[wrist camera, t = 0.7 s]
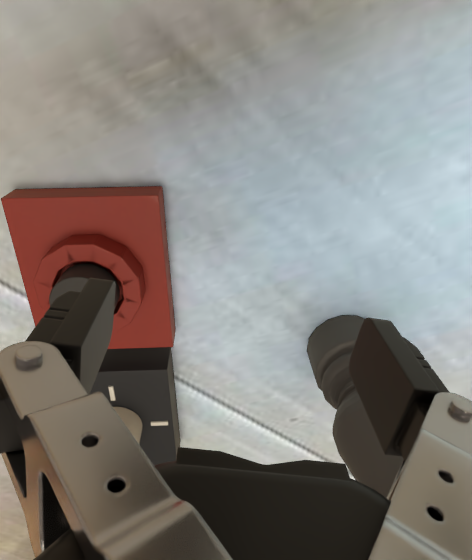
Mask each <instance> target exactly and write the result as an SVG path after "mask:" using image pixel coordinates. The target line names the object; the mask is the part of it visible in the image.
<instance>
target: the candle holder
mask: <svg viewBox="0 0 472 560" xmlns="http://www.w3.org/2000/svg"><path fill="white" fill-rule="evenodd" d="M364 320H365V319H364V318H361V317H359V316H351V315H342V316H338V317H335V318H332V319H328V320H327V321H325V322H324V323H323V324H321V325H320V326H318V327H317V328H316V329H315V331H314V332H313V334H312V335H311V336H310V338H309V341H308V347H307V353H308V356H309V359H310V363H311V366H312V369H313V373H314V376H315V379H316V382H317V385H318V387H319V388H320V389H321V390H322V391H323V394H324V397H325V400H326V401H327V402H328V403H330V404H331V405H332V406H333V407H334V408H335V409H337V412H336V415H335V420H334V424H333V437H334V440H335V443H336V446H337V449H338V452H339V454H340V456H341V457H342V459H343V461H344V462H345V464H346V465H347V467H348V468H349V470H350V472H351V473H352V475H353V476H354V478H355V480H356V481H358V482H360V483H363V484H365V485H367V486H368V487H370V488H372V489H374V490H375V491H377V492H378V493H380V494H382V495H383V496H384V497H386V498H387V496H388V494H389V492H390V489H391V487H392V485H393V482H394V480H395V478H396V475H397V473H398V471H399V469H400V467H401V465H402V462H403V460H404V459H403V457H402V456H393V455H385V454H384V452H383V449H382V447H381V445H380V443H379V440H378V438H377V436H376V433H375V431H374V429H373V427H372V424H371V422H370V420H369V418H368V415H367V413H366V411H365V408H364V406H363V404H362V402H361V399H360V397H359V395H358V393H357V390H356V388H355V386H354V383H353V381H352V379H351V377H350V373H349V360H350V356H351V353H352V351H353V348H354V345H355V342H356V339H357V337H358V334H359V331H360V328H361V326H362V323H363V321H364Z"/></svg>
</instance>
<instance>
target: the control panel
mask: <svg viewBox="0 0 472 560" xmlns="http://www.w3.org/2000/svg"><path fill="white" fill-rule="evenodd" d="M97 391H100V392H102V393H103V394H104V395H105V397H106V398H107V399H108V401H109V402H110V404H111V405H112V406H113V407H123V408H127V409H129V410H131V411H133V412H135V413H136V414H137V415H138V416H139V417H140V419H141V421H142V432H141V437H140V442H139V445H140V446H141V448H142V449H143V451H144V452H145V453H146V455H147V456H148V458H149V459H150V460H151V462H152V463H153V465H154V466H155V465H158V464H162V463H166V462H172V461H176V455H177V449H178V447H180V433H179V423H178V413H177V403H176V393H175V383H174V373H173V363H172V353H171V347H158V348H126V349H107V351H106V354H105V356H104V359H103V361H102V364H101V366H100V369H99V371H98V374H97V376H96V379H95V381H94V384H93V386H92V389H91V391H90V394H91V393H94V392H97Z"/></svg>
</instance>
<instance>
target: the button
mask: <svg viewBox="0 0 472 560" xmlns="http://www.w3.org/2000/svg"><path fill="white" fill-rule="evenodd" d="M89 278H97V279H104V280H111V281H115V284H116V289H115V304H114V310H115V307H116V305H117V302H118V300H119V296H120V290H119V286H118V283H117V281H116V279H115V278H114V277H113V275H112V274H111V273H109V272H108V271H107V270H106V269H104V268H102V267H100V266H97V265H94V264H87V263H84V264H77V265H74V266H72V267H70V268H68V269H67V270H66V271H65V272H64V273H63V274H62V276H61V277H60V278H59V280H58V281H57V283H56V284H55V285H54V287H53V288H52V290H51V292H50V296H49V304H50V306H51V305H52V303H53V302H54V300H55V299H56V298H57V297H59V296H61V295H63V294H64V293H66V292H68V291H75V292H81V291H82V289H83V288H84V286H85V284H86V283H87V281H88V280H89Z"/></svg>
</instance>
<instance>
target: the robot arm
mask: <svg viewBox="0 0 472 560" xmlns="http://www.w3.org/2000/svg"><path fill="white" fill-rule="evenodd" d="M115 289H116V284H115V281H111V280H104V279H97V278H89V280H88V281H87V283H86V284H85V286H84V288H83V289H82V291H81V292H75V291H68V292H66V293H64V294H63V295H61V296H59V297H57V298H56V299H55V300H54V302H53V303H52V305H51V306H50V308H49V309H48V310H47V312H46V313H45V314H44V317H42V319H41V320H40V321H39V323H38V324H37V326H36V327H35V328H34V330H33V331H32V333H31V334H30V335H29V337H28V338H27V340H26V341H25V342H20V343H16V344H13V345H11V346H8V347H7V348H5V349H3V350H2V351H1V352H0V453H1V454H2V457H3V460H4V462H5V465H6V467H7V470H8V472H9V475H10V478H11V480H12V483H13V485H14V488H15V490H16V493H17V495H18V498H19V501H20V503H21V506H22V508H23V511H24V514H25V518H26V522H27V527H28V532H29V537H30V541H31V545H32V548H33V551H34V554H35V557H36V558H35V559H34V560H472V401H470V400H469V399H467V398H465V397H463V396H460V395H457V394H454V393H450V392H449V391H448V390H447V388H446V387H445V386H444V384H443V383H442V381H441V380H440V379H439V377H438V376H437V375H436V373H435V372H434V370H433V369H431V366H430V365H429V364H428V362H427V361H426V360H424V359H425V358H424V357H423V355H422V354H421V353H420V351H419V350H418V348H417V347H415V346H414V345H413V344H412V343H410V342H409V341H408V340H407V339H405V338H403V337H402V336H401V335H400V333H399V332H398V330H397V329H396V328H395V326H394V325H393V323H392V322H391V321H388V320H381V319H374V318H366V319H365V320H364V321H363V323H362V326H361V328H360V331H359V334H358V337H357V339H356V342H355V345H354V348H353V351H352V353H351V356H350V360H349V373H350V377H351V379H352V381H353V383H354V386H355V388H356V390H357V393H358V395H359V397H360V399H361V402H362V404H363V406H364V408H365V411H366V413H367V415H368V418H369V420H370V422H371V424H372V427H373V429H374V431H375V433H376V436H377V438H378V440H379V443H380V445H381V447H382V449H383V452H384V454H385V455H393V456H402V457H403V459H404V460H403V462H402V465H401V467H400V469H399V471H398V473H397V475H396V478H395V480H394V482H393V485H392V487H391V489H390V492H389V494H388V496H387V498H386V497H384V496H383V495H382V494H380V493H378V492H377V491H375V490H374V489H372V488H370V487H368V486H367V485H365V484H363V483H360V482H358V481H356V480H353V479H350V477H349V474H348V471H347V468H346V465H345V464H340V463H330V462H320V461H310V460H302V461H294V462H287V463H279V464H271V465H262V464H259V463H255V462H252V461H249V460H246V459H243V458H240V457H236V456H233V455H230V454H227V453H224V452H221V451H211V450H201V449H191V448H181V447H178V449H177V455H176V461H172V462H166V463H162V464H158V465H155V466H154V465H153V463H152V462H151V460H150V459H149V458H148V456H147V455H146V453H145V452H144V451H143V449H142V448H141V446H140V445H139V443H138V442H137V441H136V439H135V438H134V436H133V435H132V433H131V432H130V431H129V429H128V428H127V426H126V425H125V424H124V422H123V421H122V419H121V418H120V416H119V415H118V414H117V412H116V411H115V409H114V408H113V406H112V405H111V404H110V402H109V401H108V399H107V398H106V397H105V395H104V394H103V393H102V392H100V391H97V392H94V393H91V394H90V391H91V389H92V386H93V384H94V381H95V379H96V376H97V374H98V371H99V369H100V366H101V364H102V361H103V359H104V356H105V354H106V351H107V349H108V346H109V343H110V340H111V335H112V329H113V318H114V304H115Z"/></svg>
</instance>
